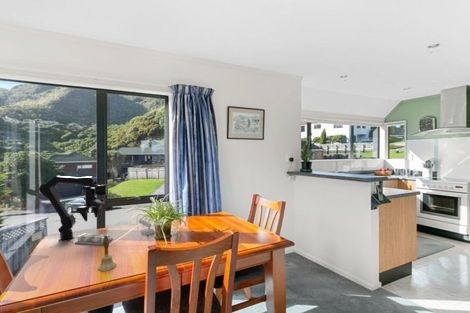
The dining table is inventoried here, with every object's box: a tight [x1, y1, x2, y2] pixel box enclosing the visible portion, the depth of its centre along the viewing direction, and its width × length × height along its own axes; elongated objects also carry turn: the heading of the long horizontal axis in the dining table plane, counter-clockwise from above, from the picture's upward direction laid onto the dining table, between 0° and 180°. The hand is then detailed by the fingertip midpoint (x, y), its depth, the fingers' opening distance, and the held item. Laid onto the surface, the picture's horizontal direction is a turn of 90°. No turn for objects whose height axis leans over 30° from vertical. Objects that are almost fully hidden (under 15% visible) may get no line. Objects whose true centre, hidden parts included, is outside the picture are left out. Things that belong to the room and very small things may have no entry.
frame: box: [83, 233, 106, 242], centre depth 170 cm, size 12×4×3 cm, turn 79°
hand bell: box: [97, 234, 117, 272], centre depth 134 cm, size 8×8×16 cm
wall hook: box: [138, 218, 155, 236], centre depth 186 cm, size 9×10×10 cm
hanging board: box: [74, 232, 114, 246], centre depth 170 cm, size 19×10×4 cm, turn 79°
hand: (91, 219), depth 178 cm, fingers open, 9 cm apart
